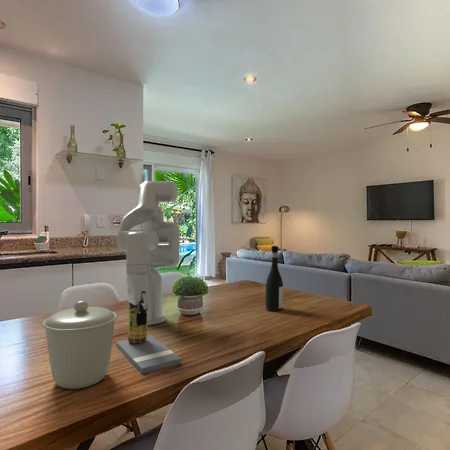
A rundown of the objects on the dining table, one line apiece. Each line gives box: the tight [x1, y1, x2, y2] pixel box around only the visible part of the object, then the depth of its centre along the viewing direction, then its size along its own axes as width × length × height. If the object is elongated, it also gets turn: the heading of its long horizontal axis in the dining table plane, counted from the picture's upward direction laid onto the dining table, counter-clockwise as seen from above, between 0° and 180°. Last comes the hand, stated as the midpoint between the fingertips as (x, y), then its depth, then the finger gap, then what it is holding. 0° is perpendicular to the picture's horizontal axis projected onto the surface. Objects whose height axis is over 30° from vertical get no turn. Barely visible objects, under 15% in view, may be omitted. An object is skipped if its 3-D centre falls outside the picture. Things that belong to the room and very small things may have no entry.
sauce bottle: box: [127, 301, 148, 344], centre depth 112 cm, size 7×6×20 cm
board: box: [115, 334, 182, 375], centre depth 106 cm, size 24×12×2 cm, turn 34°
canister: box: [41, 300, 118, 390], centre depth 89 cm, size 18×18×21 cm
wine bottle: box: [265, 245, 284, 312], centre depth 157 cm, size 8×8×30 cm
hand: (138, 321), depth 112 cm, fingers closed on sauce bottle, 6 cm apart
